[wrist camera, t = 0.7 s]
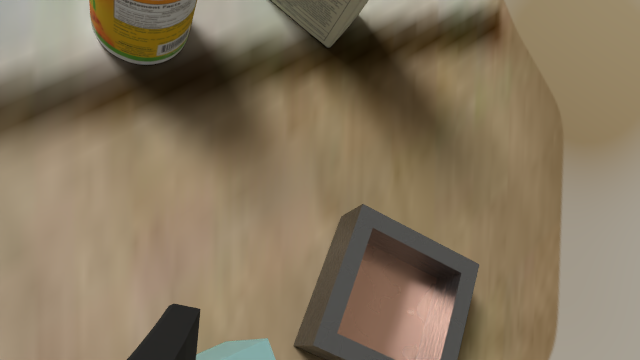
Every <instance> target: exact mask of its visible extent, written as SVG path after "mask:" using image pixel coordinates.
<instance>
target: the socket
mask: <svg viewBox="0 0 640 360" xmlns="http://www.w3.org/2000/svg"><path fill="white" fill-rule="evenodd" d="M478 268H479V264H477V263H476V262H474V261H472V260H470V259H468V258H466V257H464V256H462V255H460V254H458V253H456V252H454V251H452V250H451V249H449V248H447V247H445V246H443V245H441V244H439V243H437V242H435V241H433V240H431V239H429V238H427V237H425V236H424V235H422V234H420V233H418V232H416V231H414V230H412V229H410V228H408V227H406V226H404V225H402V224H400V223H399V222H397V221H395V220H393V219H391V218H389V217H387V216H385V215H383V214H381V213H379V212H377V211H375V210H374V209H372V208H370V207H368V206H366V205H364V204H362V205H360V206H359V207H357V208H355V209H353V210H352V211H350V212H348V213H347V214H345V215H343V216H341V219H340V222H339V224H338V227H337V230H336V232H335V235H334V238H333V241H332V243H331V246H330V249H329V251H328V254H327V257H326V259H325V262H324V265H323V268H322V270H321V273H320V276H319V278H318V281H317V284H316V286H315V289H314V292H313V295H312V297H311V300H310V303H309V305H308V308H307V311H306V313H305V316H304V319H303V322H302V324H301V327H300V330H299V332H298V335H297V338H296V340H295V343H294V346H296V347H298V348H300V349H302V350H305V351H307V352H309V353H311V354H314V355H316V356H318V357H321V358H323V359H325V360H457V359H458V355H459V350H460V346H461V342H462V337H463V333H464V329H465V324H466V320H467V316H468V311H469V307H470V303H471V298H472V294H473V290H474V285H475V281H476V277H477V272H478Z"/></svg>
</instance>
